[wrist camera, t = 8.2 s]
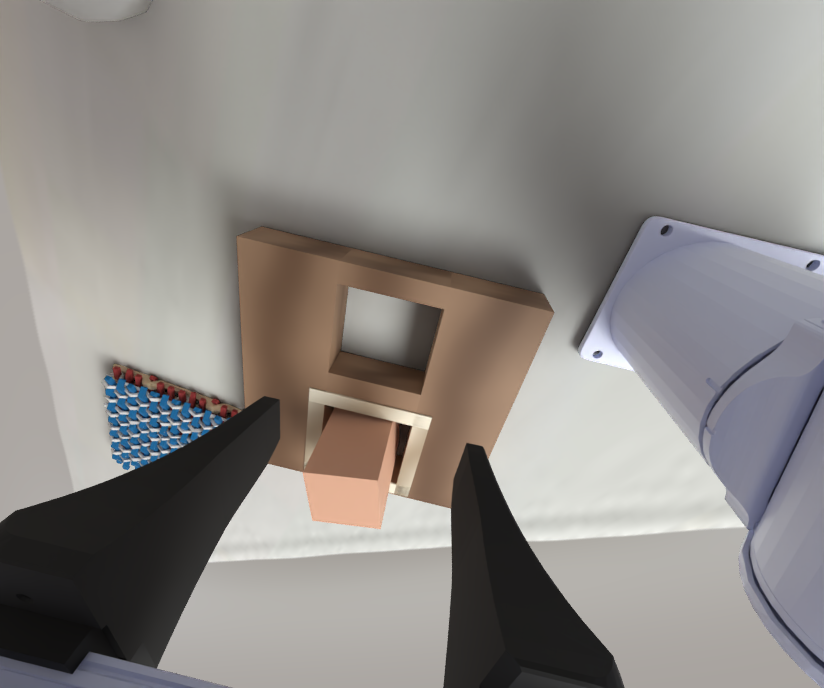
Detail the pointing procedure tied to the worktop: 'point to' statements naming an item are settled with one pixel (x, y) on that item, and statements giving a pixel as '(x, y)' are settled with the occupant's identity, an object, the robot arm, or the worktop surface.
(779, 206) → the worktop surface
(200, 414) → the woven mat
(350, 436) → the pin
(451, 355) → the wooden peg board
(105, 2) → the salt shaker
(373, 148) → the worktop surface
